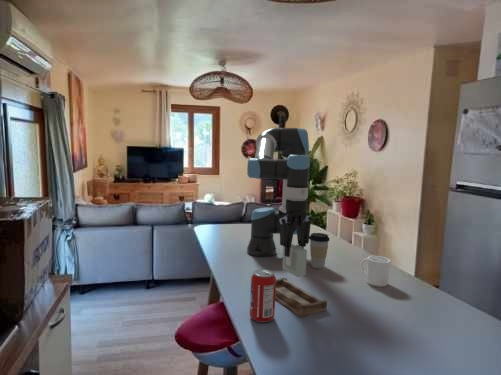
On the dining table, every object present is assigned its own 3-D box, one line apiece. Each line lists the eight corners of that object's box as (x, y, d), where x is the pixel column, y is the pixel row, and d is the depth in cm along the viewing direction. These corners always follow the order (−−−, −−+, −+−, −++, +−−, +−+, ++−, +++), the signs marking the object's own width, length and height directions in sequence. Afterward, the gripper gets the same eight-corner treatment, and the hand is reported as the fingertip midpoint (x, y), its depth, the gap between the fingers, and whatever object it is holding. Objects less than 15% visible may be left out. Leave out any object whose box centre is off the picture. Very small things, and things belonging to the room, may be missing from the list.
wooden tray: (261, 289, 131) (261, 282, 131) (284, 285, 137) (285, 277, 137) (300, 317, 111) (300, 308, 110) (326, 310, 116) (326, 301, 116)
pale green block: (282, 269, 125) (283, 244, 124) (290, 267, 127) (291, 243, 126) (297, 276, 118) (298, 251, 117) (305, 275, 119) (306, 250, 118)
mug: (387, 281, 145) (389, 257, 144) (389, 289, 137) (391, 263, 135) (360, 277, 149) (362, 254, 147) (360, 284, 140) (361, 260, 139)
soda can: (266, 326, 104) (268, 279, 102) (244, 319, 108) (246, 273, 106) (278, 316, 111) (280, 271, 109) (257, 310, 115) (259, 266, 113)
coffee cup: (328, 270, 155) (330, 238, 154) (307, 268, 157) (308, 236, 156) (327, 264, 165) (329, 233, 163) (307, 262, 166) (309, 231, 165)
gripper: (283, 201, 112) (280, 271, 115) (322, 199, 121) (318, 264, 123) (270, 198, 119) (268, 264, 121) (308, 196, 127) (305, 258, 130)
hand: (293, 264), depth 122 cm, fingers closed on pale green block, 4 cm apart
